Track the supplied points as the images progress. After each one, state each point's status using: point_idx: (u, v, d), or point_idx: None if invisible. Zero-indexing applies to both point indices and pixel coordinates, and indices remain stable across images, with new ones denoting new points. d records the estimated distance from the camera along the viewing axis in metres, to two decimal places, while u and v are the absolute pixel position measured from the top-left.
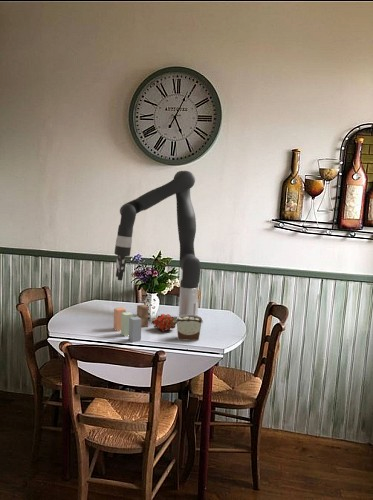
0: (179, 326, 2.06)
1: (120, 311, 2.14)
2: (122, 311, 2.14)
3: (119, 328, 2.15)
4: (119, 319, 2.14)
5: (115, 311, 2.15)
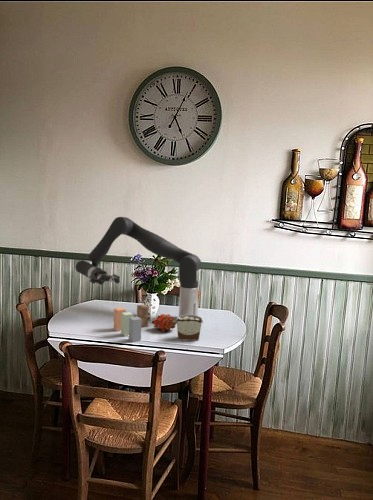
0: (179, 326, 2.06)
1: (120, 311, 2.14)
2: (122, 311, 2.14)
3: (119, 328, 2.15)
4: (119, 319, 2.14)
5: (115, 311, 2.15)
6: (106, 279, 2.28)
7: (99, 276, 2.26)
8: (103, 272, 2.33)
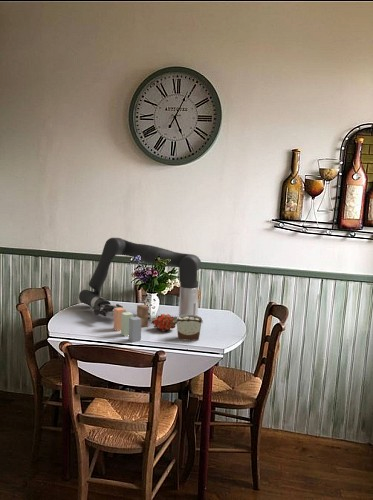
0: (179, 326, 2.06)
1: (120, 311, 2.14)
2: (122, 311, 2.14)
3: (119, 328, 2.15)
4: (119, 319, 2.14)
5: (115, 311, 2.15)
6: (109, 310, 2.27)
7: (102, 307, 2.25)
8: (106, 302, 2.32)
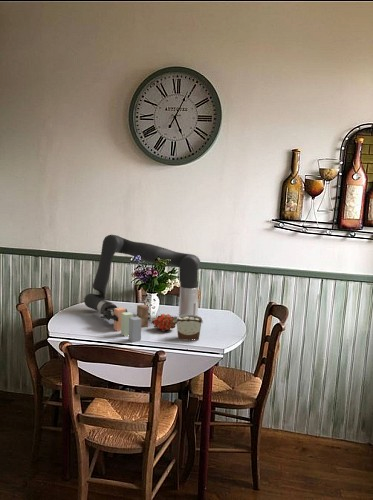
0: (179, 326, 2.06)
1: (120, 311, 2.14)
2: (122, 311, 2.14)
3: (119, 328, 2.15)
4: (119, 319, 2.14)
5: (115, 311, 2.15)
6: None
7: (112, 311, 2.18)
8: (113, 306, 2.24)
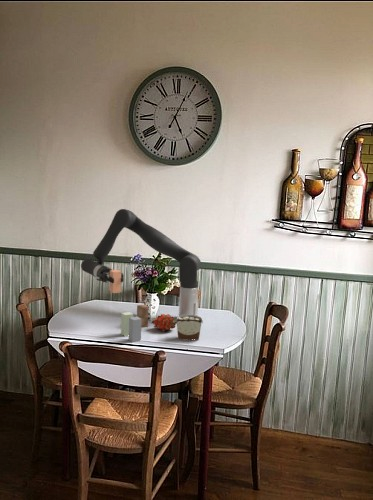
0: (179, 326, 2.06)
1: (116, 273, 2.16)
2: (118, 273, 2.16)
3: (115, 290, 2.17)
4: (115, 281, 2.16)
5: (111, 273, 2.17)
6: None
7: (108, 274, 2.20)
8: (109, 270, 2.26)
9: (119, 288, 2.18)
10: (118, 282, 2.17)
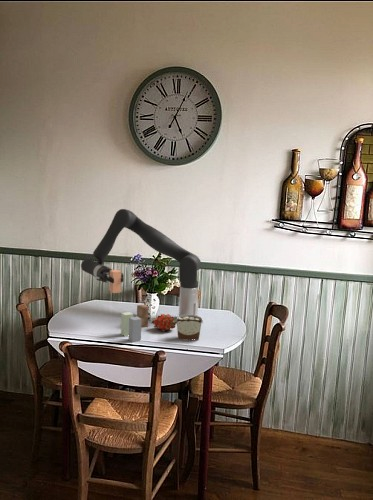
0: (179, 326, 2.06)
1: (116, 273, 2.16)
2: (118, 273, 2.16)
3: (115, 290, 2.17)
4: (115, 281, 2.16)
5: (111, 273, 2.17)
6: None
7: (108, 274, 2.20)
8: (109, 270, 2.26)
9: (119, 288, 2.18)
10: (118, 282, 2.17)
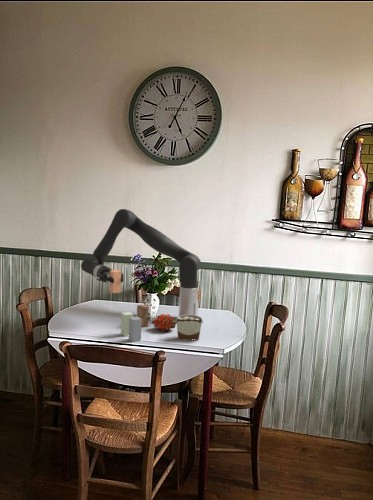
0: (179, 326, 2.06)
1: (116, 273, 2.16)
2: (118, 273, 2.16)
3: (115, 290, 2.17)
4: (115, 281, 2.16)
5: (111, 273, 2.17)
6: None
7: (108, 274, 2.20)
8: (109, 270, 2.26)
9: (119, 288, 2.18)
10: (118, 282, 2.17)
